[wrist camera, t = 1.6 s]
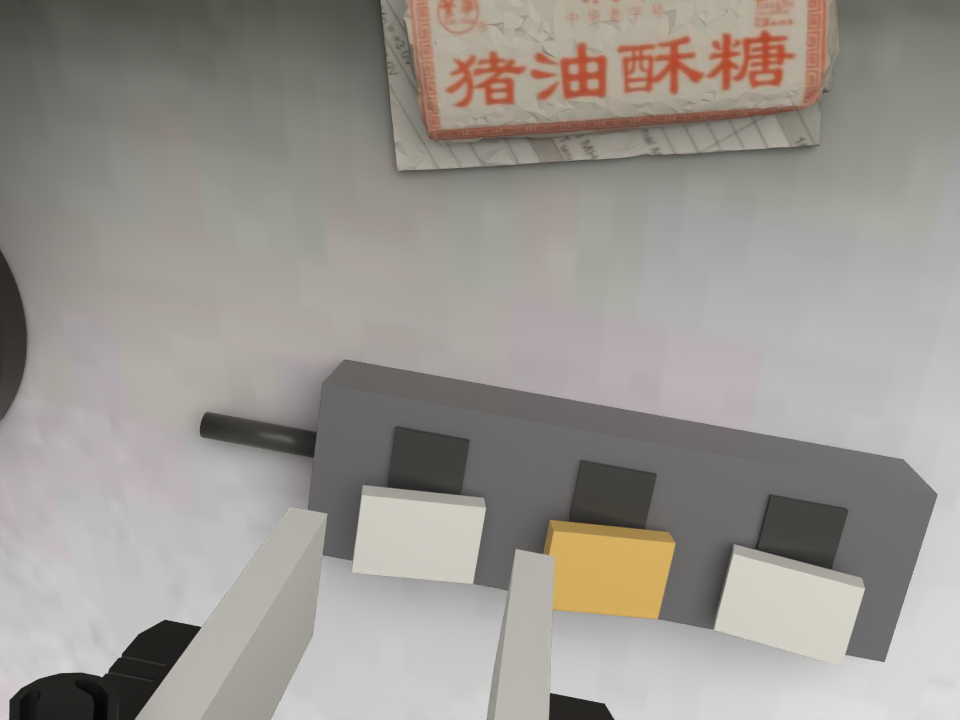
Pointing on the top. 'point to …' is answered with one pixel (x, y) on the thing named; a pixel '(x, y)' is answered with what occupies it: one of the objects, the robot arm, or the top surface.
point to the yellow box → (608, 568)
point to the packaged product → (603, 78)
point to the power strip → (609, 484)
